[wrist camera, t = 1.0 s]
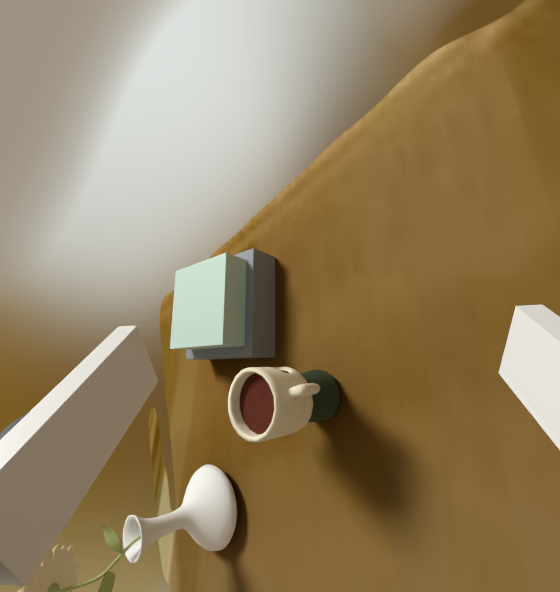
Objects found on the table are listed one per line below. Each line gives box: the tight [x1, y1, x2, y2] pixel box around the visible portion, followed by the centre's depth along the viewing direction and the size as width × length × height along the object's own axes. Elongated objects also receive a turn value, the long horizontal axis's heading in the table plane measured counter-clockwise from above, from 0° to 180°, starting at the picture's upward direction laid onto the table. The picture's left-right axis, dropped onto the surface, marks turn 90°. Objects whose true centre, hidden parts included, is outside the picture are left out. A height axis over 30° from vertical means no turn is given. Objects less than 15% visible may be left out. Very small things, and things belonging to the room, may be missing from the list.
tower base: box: [170, 248, 275, 360], centre depth 50 cm, size 16×16×9 cm
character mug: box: [228, 367, 340, 442], centre depth 35 cm, size 11×7×13 cm, turn 107°
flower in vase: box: [18, 465, 237, 592], centre depth 39 cm, size 13×11×25 cm
